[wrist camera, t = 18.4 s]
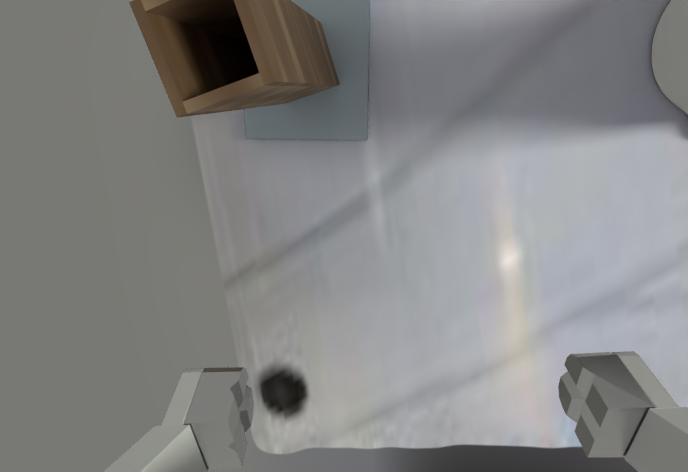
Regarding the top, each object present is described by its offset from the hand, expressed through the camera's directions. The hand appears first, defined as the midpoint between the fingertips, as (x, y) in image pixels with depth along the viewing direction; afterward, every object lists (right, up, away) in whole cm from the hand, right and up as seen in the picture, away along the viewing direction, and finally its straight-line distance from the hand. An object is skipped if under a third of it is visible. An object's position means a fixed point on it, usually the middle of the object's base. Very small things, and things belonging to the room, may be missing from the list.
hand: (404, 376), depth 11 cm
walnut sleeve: (-6, +22, +35) cm, 42 cm away
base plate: (-6, +23, +37) cm, 43 cm away
